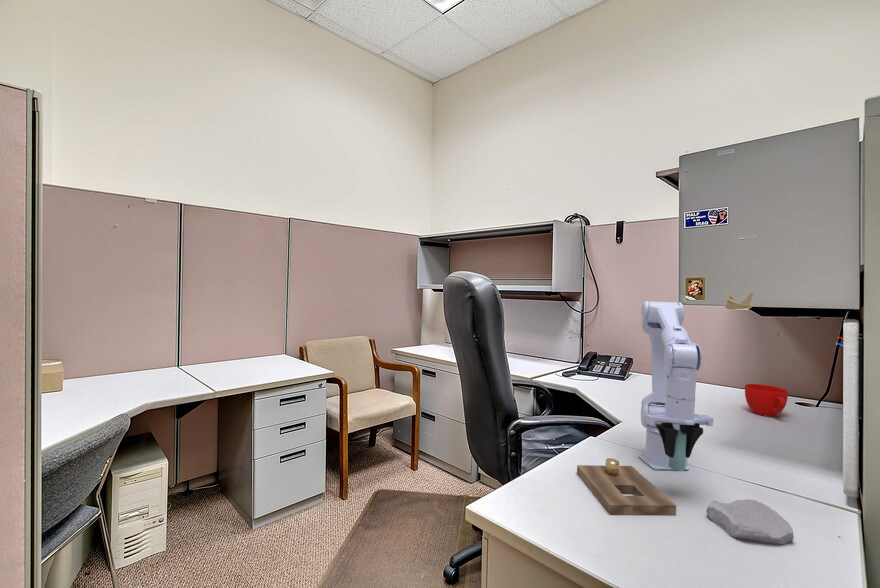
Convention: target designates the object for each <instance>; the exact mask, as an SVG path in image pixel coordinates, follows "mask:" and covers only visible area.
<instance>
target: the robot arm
mask: <svg viewBox="0 0 880 588" xmlns="http://www.w3.org/2000/svg"><path fill="white" fill-rule="evenodd" d="M684 317H685V308H684V304H683V303H682V302H681V301H678V302H671V301H670V302H669V301H648V300H645V301H644V302H642V305H641V328H642V332H644V333H646V334H647V335H648V337H649V341H650V358H651V359H650V360H651V361H650V362H651V363H650V364H651V388H652V389H651V390H652V391H651V393H650V394H648V395H645V396H644V397H643V398H642V400H641V407H640V422H641V426H643V428H645V431H646V433H645V434H646V435H645V454H638V455H637V456H638V458H639V459H641V460H642V461H643V462H644V463H646V465H647V466H649V467H650V468H651V469H652V470H660V471H661V470H665V471H667V470H668V471H669V470H670V471H672V470H673V471H674V469H672V468H670V467H669V457H671V458H673V457H674V450H675V441H676V437H677V434H678V432H679V431H682V432H685V433H686V434H687V438H686V458H685V470H684V471H689V469H690V468H689V467H688V459H689V458H690V457H691V455H692V451H693V449H694V447H695V444H696V443H697V441H698V440H699V439H700V437H701V436H702V435H703V434H704V428H702V427H701V426H708V427H713V425H714V424H713V423H714V417H712V416H710V415H708V414H698V413H697V414H696V413H695V409H696V408H695V407H696V388H697V372H698V371H700V369H701V366H702V351H701V347H700V345H699V344H697V343H694V342H692V340H691V338H690V336H689V333H688V331H687V329H686V328H684V327H683V326H682V324H683V322H684Z"/></svg>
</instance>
